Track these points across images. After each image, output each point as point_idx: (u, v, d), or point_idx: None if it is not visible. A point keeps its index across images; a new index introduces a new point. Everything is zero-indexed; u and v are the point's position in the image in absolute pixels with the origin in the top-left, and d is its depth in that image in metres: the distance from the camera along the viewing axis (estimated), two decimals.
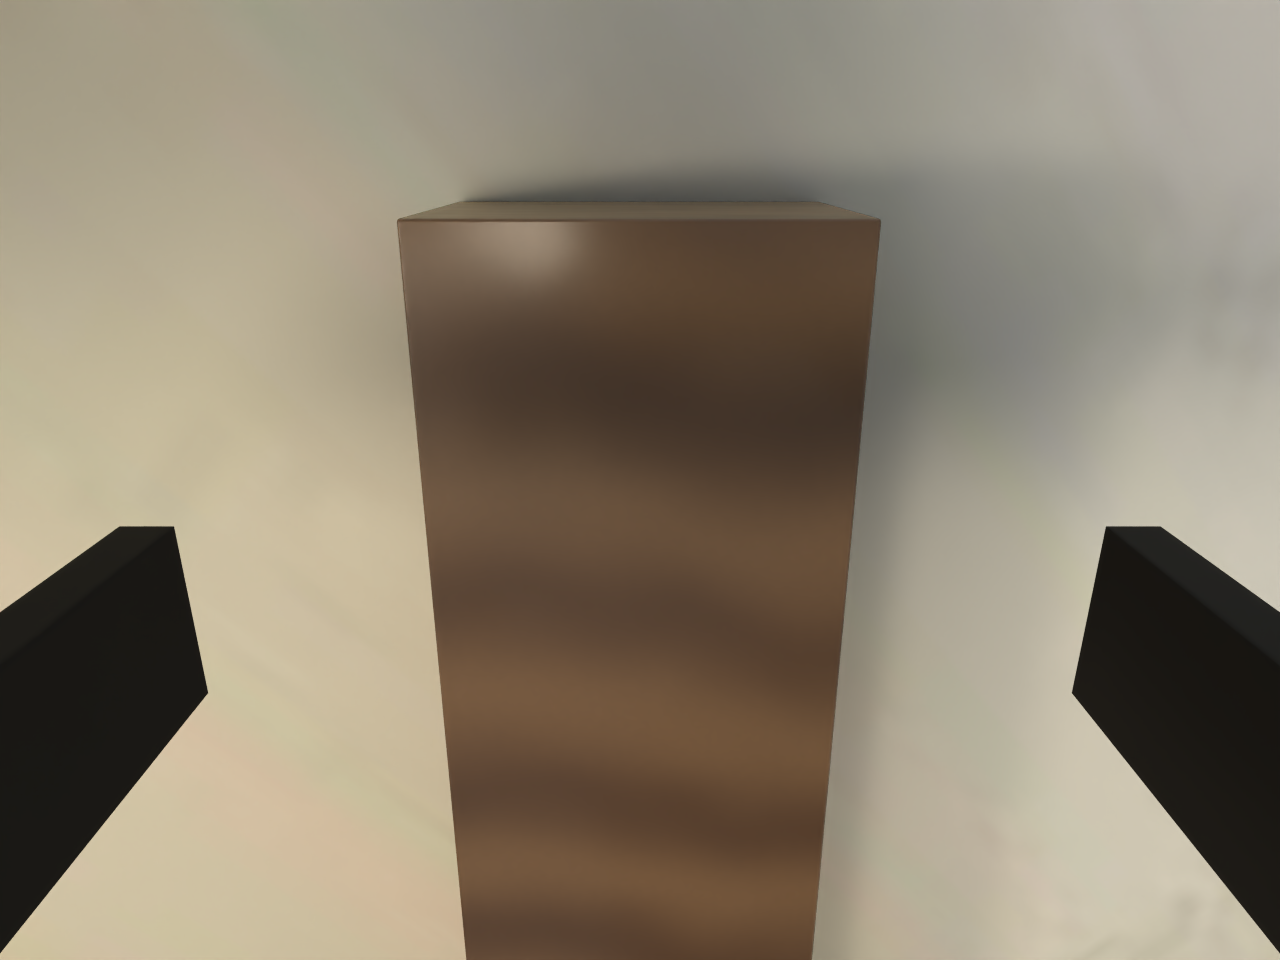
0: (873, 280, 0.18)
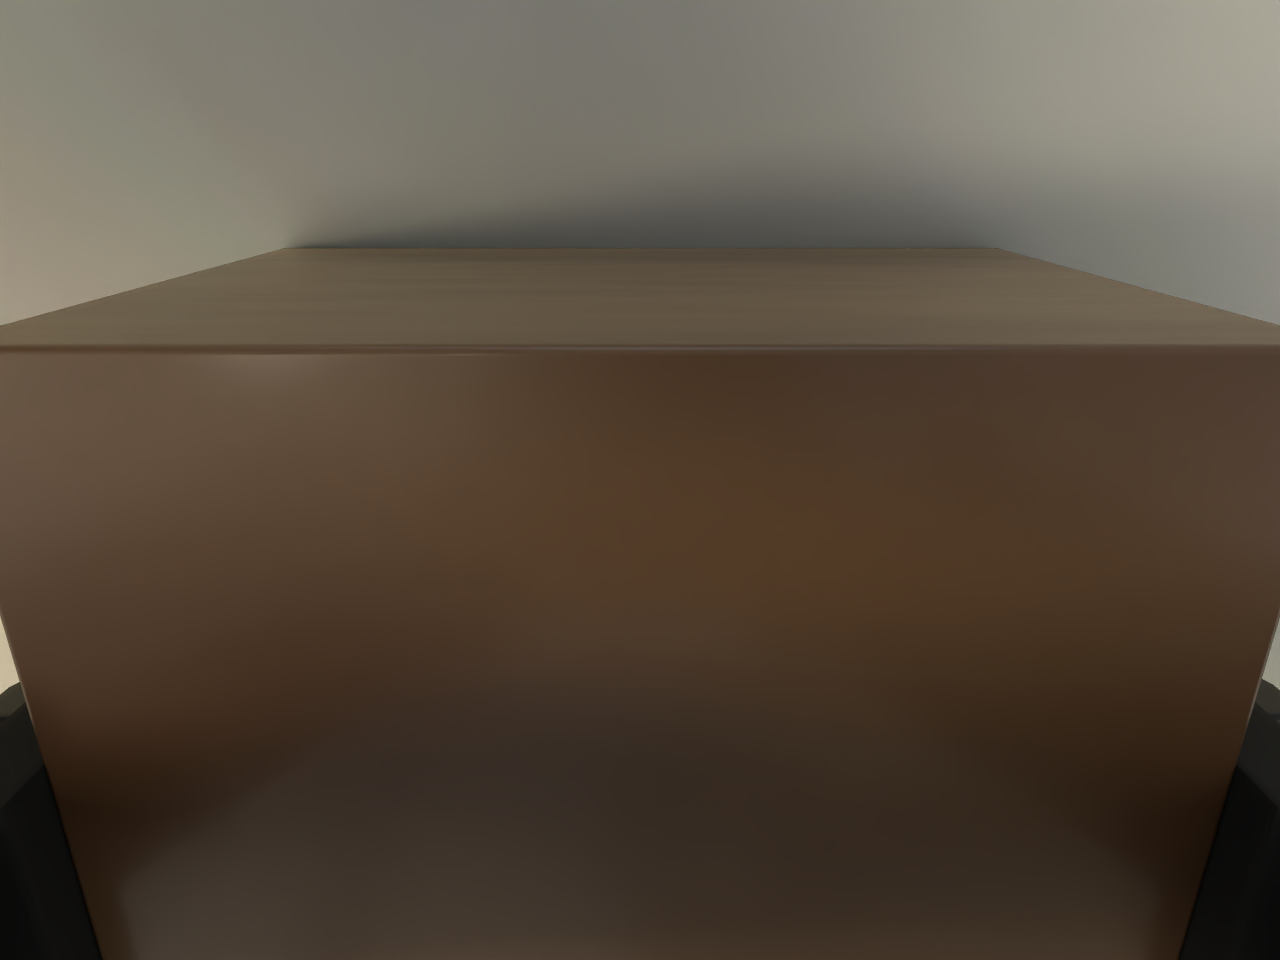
0: None
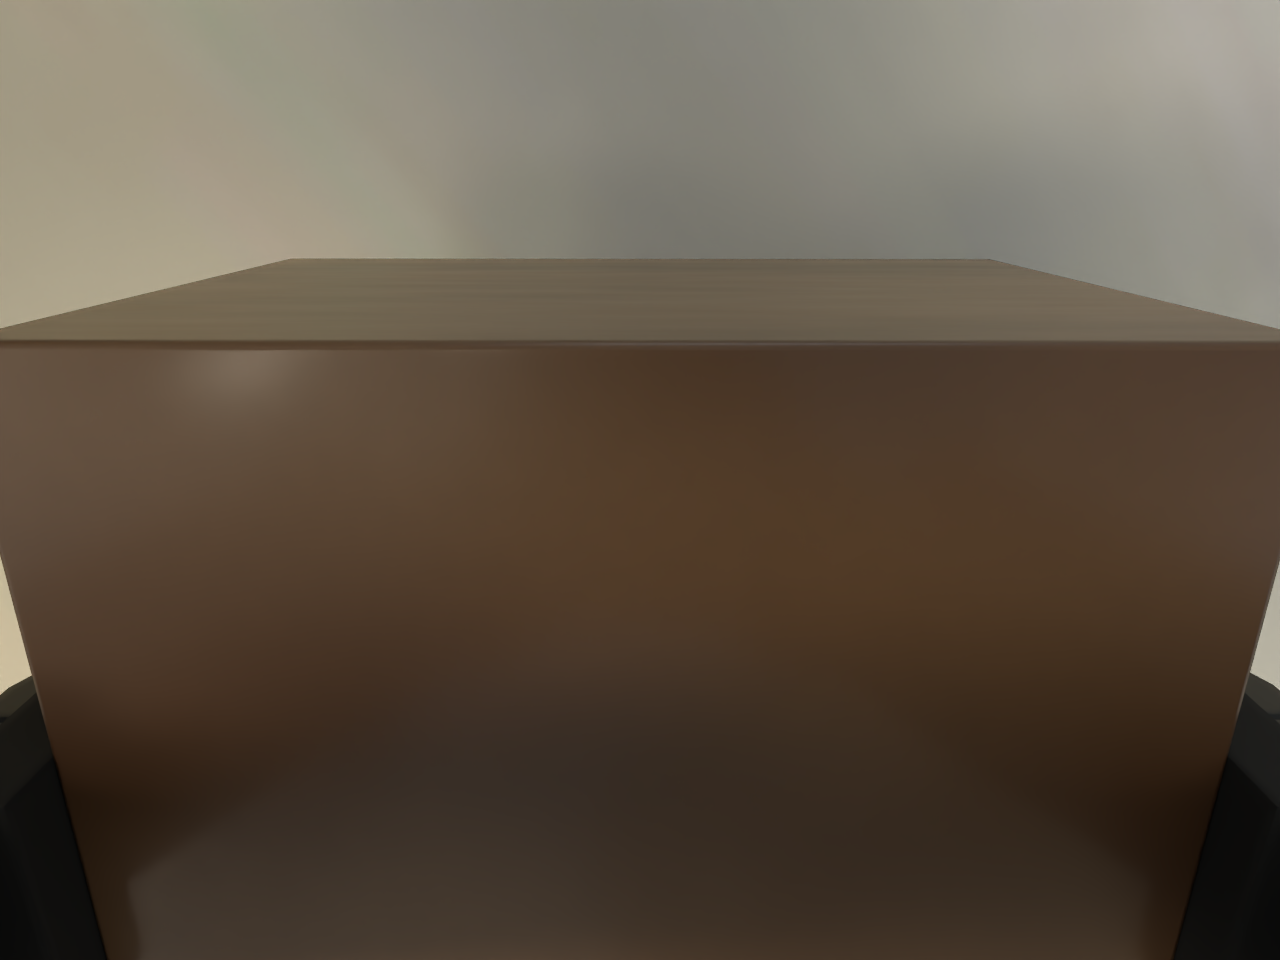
0: None
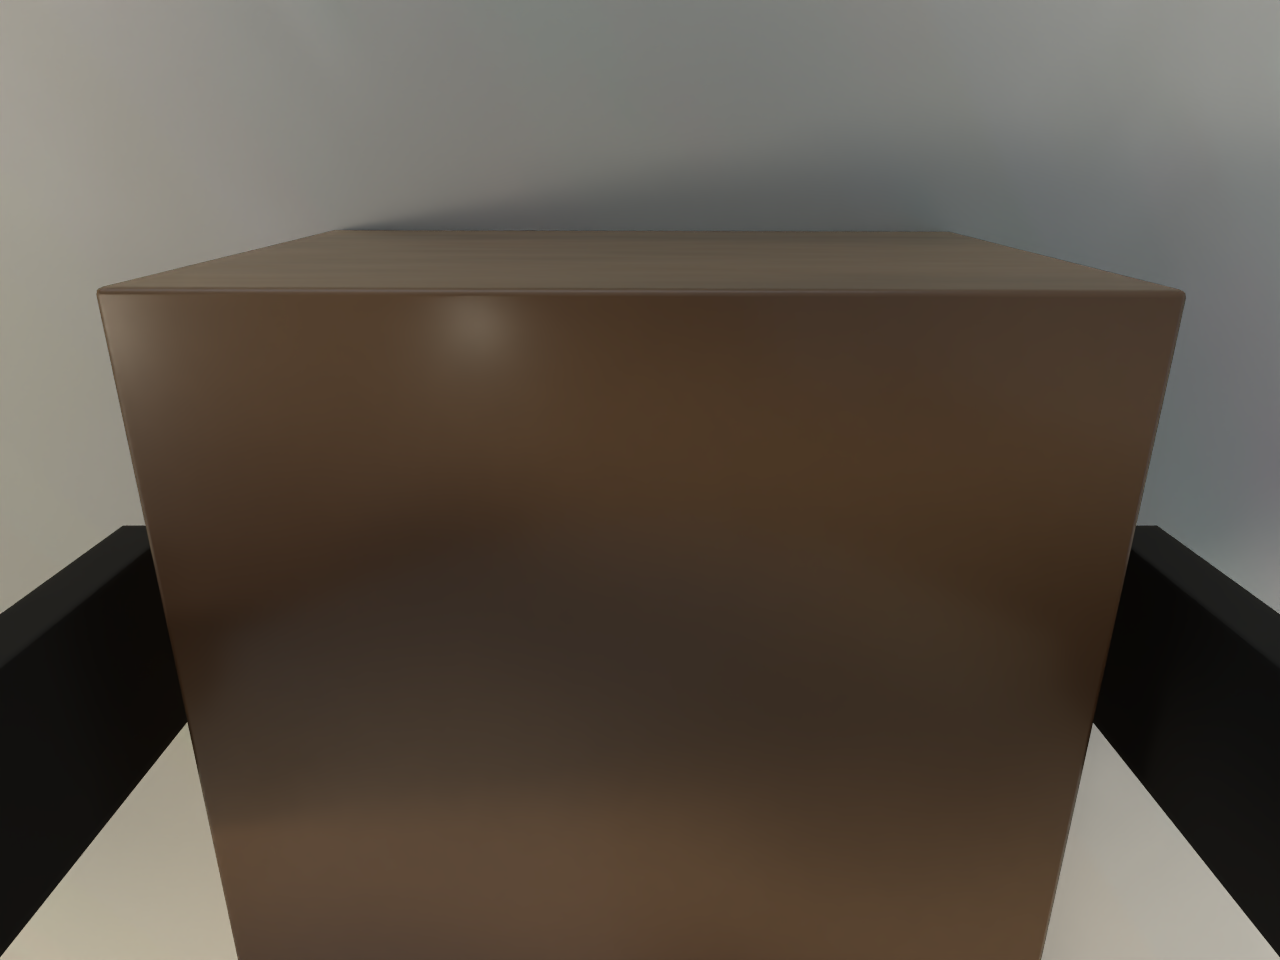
0: (1155, 421, 0.08)
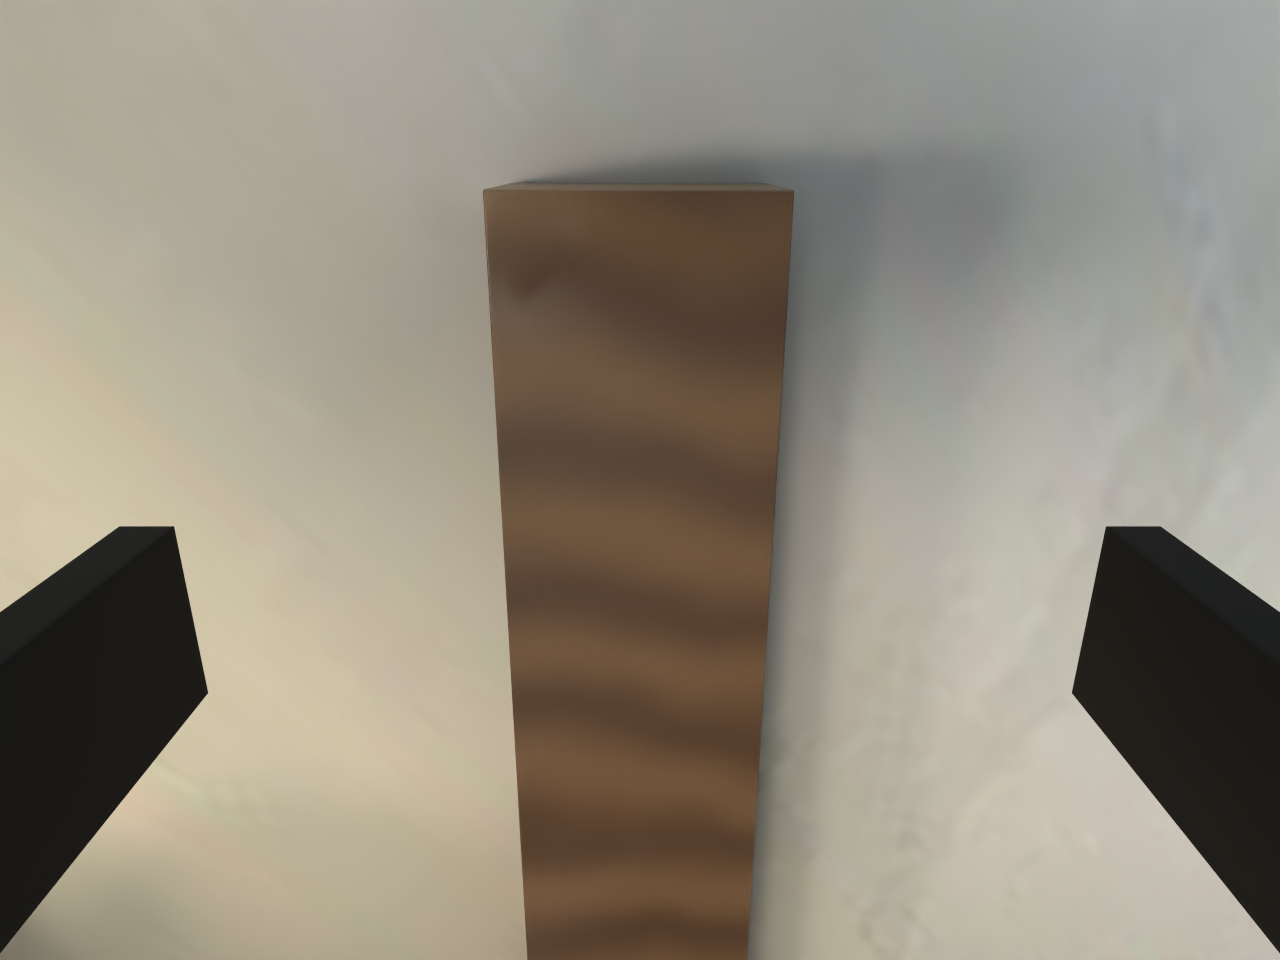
0: (790, 230, 0.29)
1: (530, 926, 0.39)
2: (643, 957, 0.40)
